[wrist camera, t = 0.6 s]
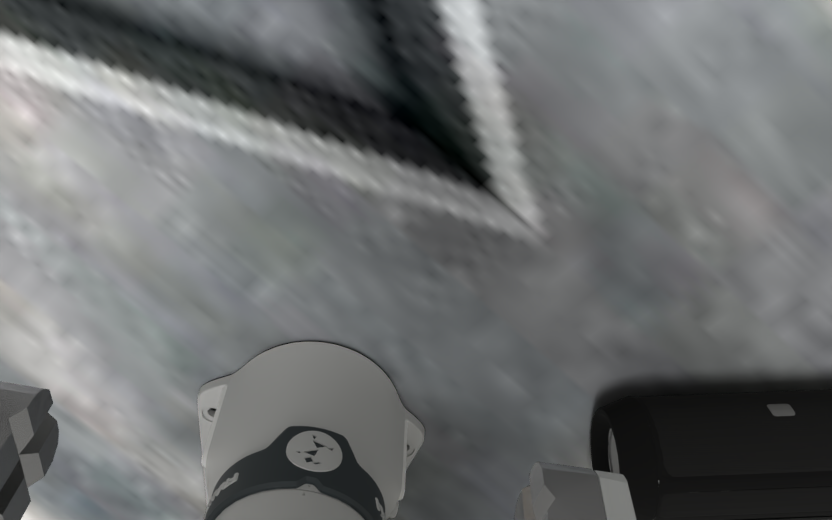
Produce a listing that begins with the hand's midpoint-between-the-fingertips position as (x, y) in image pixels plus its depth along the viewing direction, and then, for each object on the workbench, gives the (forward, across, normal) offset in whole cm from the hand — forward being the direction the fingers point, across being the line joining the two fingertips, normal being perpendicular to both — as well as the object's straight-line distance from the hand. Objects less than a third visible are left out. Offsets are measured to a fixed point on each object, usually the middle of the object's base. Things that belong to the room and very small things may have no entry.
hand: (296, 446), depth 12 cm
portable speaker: (+33, +34, -31) cm, 57 cm away
